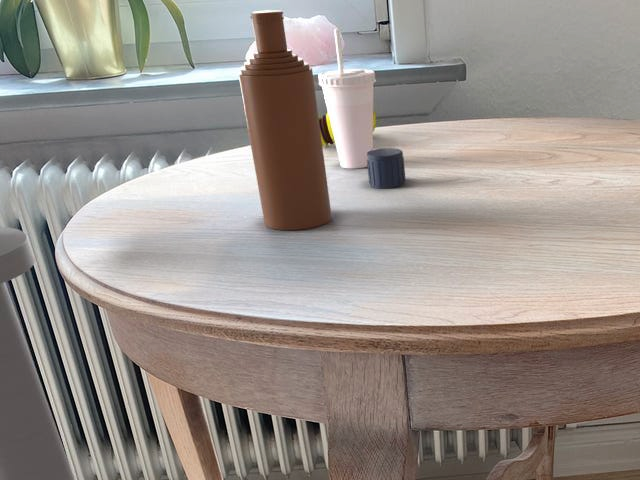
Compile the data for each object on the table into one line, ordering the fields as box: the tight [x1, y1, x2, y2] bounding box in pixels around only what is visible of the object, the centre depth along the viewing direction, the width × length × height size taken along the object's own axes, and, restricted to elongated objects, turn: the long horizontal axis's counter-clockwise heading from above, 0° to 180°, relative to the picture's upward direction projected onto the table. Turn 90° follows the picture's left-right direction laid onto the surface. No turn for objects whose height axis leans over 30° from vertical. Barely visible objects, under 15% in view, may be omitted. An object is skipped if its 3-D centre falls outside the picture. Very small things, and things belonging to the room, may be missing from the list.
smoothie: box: [317, 28, 377, 169], centre depth 99 cm, size 6×6×14 cm
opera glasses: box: [318, 107, 377, 147], centre depth 114 cm, size 10×5×5 cm, turn 167°
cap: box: [367, 147, 407, 189], centre depth 94 cm, size 4×4×3 cm
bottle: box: [238, 9, 333, 231], centre depth 80 cm, size 6×6×18 cm
